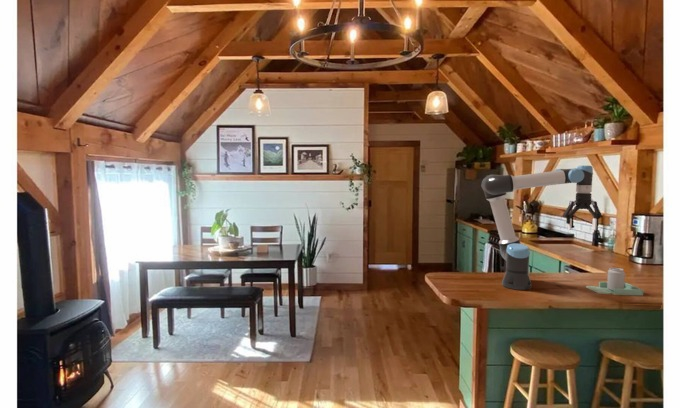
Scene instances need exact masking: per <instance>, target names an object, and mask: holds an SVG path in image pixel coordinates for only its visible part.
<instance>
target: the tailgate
mask: <svg viewBox="0 0 680 408" xmlns="http://www.w3.org/2000/svg"><path fill="white" fill-rule="evenodd" d="M585 287H586V288H587V289H589V290H591V291H593V292H595V293H596V294H601V295H603V294H604V295H606V294H607V295H611V293H610V292H608V291H606V290H604V289H602V288H600V287H599V286H594V285H593V286H592V285H586V286H585Z"/></svg>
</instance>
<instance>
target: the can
mask: <svg viewBox="0 0 680 408" xmlns="http://www.w3.org/2000/svg"><path fill="white" fill-rule="evenodd" d="M625 279H626V272H625V271H624V268H619V267H609V269H608V270H607V280H606V282H607V288H608V289H609V290H610V291H614V289H624V284H625V282H626V280H625Z"/></svg>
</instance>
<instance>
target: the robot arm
mask: <svg viewBox="0 0 680 408" xmlns="http://www.w3.org/2000/svg"><path fill="white" fill-rule="evenodd" d="M593 169H594V168H593V166H592V165H577V167H575V168H556V169H554V170H553V171H552V170H551V171H545V172H544V171H543V172H536V173H528V174H522V175H512V174H507V175H506V174H505V175H503V174H502V175H501V174H489V175H486V176H485V177H484V178H483V180H482V181H481V185H480V186H481V189H482V191H483V193H484V196H485V199H486V200H487V201H488V202H489V204H490V208H491V211H492V215H493V219H494V221H495V222H494V223H495V225H496V229H497V232H498V236H499V239H500V240H499V241H498V246H499V251H500V252H499V253H500V255H501V258H502V259H504V261H505V264H506V265H505V273H504V276H503V278H502V281H501V285H502V287H505V288H508V289H511V290H516V291H517V290H519V291H526V290H527V291H528V290H531V289H532V281H531V278H530V275H529V270H530V254H531V253H530V247H529V246H528V245H526V244H523V243H521V240H520V238H519V237H518V236H516V233H515V232H516V231H515V230H514V226H513V222H512V218H511V216H510V213H509V208H508V206H507V204H508V203H507V201H506V199H505V198H506V196H507V193H513V192H514V191H515V190H524V189H529V188H537V187H538V188H539V187H540V188H541V187H546V186H556V185H563V184H576V186H575V187H576V188H575V192H576V193H575V201H573V200H569V204H568V206H567V207H566V209H565V212H564V213H563V216H562V217H563V218H566V219H565V221H566V224H567V230H568V231H571V230H572V225H573V224H572V223H573V222H572V221H573V219H572V217H573V216H574V215H575V214H576V213H577V211H579V210H587V211H588V213H590V214H591V216H592V217H593V218H592V223H591V224H592V225H591V230H593V231H597V225H598V224H599V220H600V218H601V219H602V218H603V215H602V213H601V211H600V209H599V207H598V201H594V200H593V201H592V191H593V190H592V189H593V178H594V177H593V175H594V172H593V171H594V170H593ZM591 206H592V207H593V208H592V207H591Z"/></svg>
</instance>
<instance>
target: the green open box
mask: <svg viewBox="0 0 680 408" xmlns="http://www.w3.org/2000/svg"><path fill="white" fill-rule="evenodd" d="M598 287H600V288H602V289H604V290H606V291H608V292H610V294H612V295H614V296H644V289H642V288H640V287H637V286H634V285H633V284H630V283H628V282H626V281H625V284H624V289H614V291H610V290H609V289H608V288H607V281H598Z"/></svg>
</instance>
